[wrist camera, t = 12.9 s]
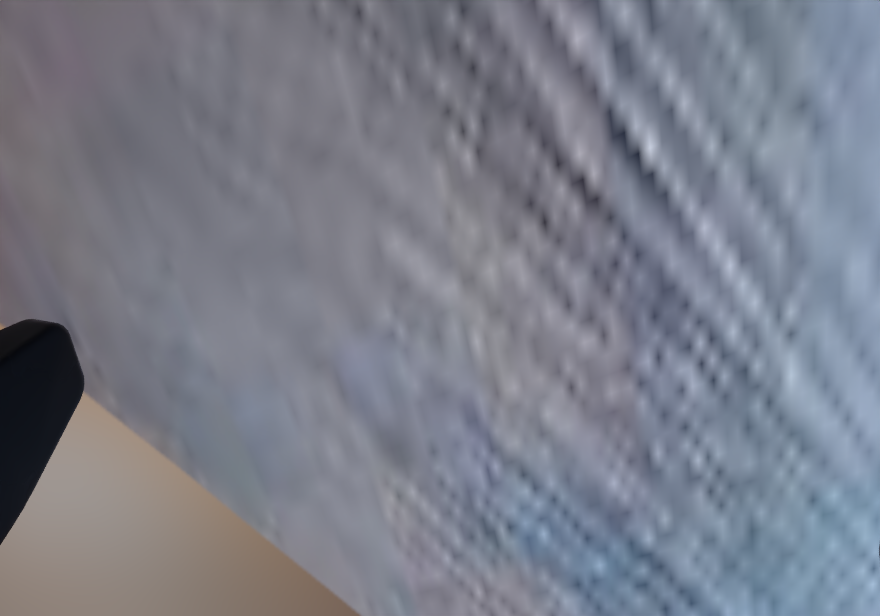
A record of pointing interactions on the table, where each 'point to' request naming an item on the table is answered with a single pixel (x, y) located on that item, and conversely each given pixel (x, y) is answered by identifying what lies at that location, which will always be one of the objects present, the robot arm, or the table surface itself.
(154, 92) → the table surface
